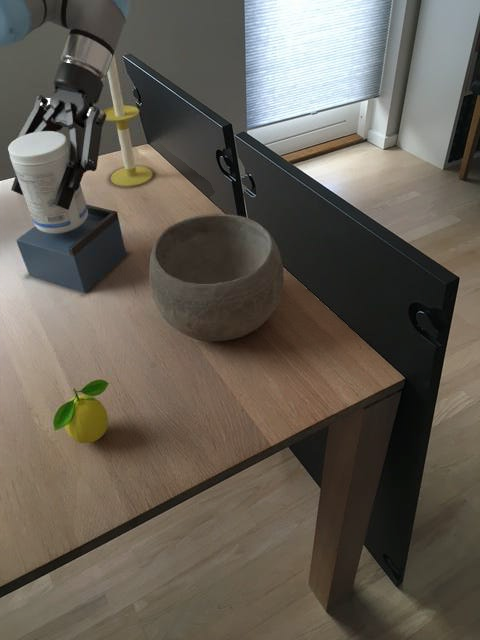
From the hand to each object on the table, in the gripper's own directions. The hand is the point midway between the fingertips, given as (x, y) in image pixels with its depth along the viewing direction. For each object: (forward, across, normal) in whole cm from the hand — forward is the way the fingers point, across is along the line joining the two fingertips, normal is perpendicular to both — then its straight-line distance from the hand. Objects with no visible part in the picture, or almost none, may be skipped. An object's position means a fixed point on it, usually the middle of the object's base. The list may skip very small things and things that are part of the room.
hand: (39, 200), depth 90 cm
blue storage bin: (+8, 0, -14) cm, 16 cm away
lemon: (+29, -30, +6) cm, 42 cm away
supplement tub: (+2, 0, -6) cm, 7 cm away
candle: (-15, +14, -37) cm, 42 cm away
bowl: (+9, -33, -14) cm, 36 cm away
